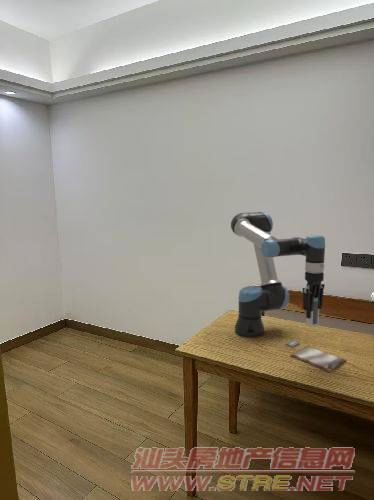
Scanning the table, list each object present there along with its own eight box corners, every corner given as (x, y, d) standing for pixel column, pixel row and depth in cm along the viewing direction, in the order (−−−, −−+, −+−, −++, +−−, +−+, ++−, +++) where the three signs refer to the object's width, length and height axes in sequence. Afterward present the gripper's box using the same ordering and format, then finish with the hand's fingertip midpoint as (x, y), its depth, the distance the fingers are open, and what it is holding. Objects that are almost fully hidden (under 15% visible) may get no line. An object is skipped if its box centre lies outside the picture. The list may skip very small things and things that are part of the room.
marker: (305, 324, 147) (306, 297, 145) (310, 322, 149) (311, 295, 147) (313, 326, 144) (314, 299, 142) (318, 324, 146) (319, 297, 144)
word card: (285, 344, 158) (285, 343, 158) (292, 340, 162) (292, 339, 162) (292, 347, 155) (292, 346, 155) (299, 343, 159) (300, 342, 159)
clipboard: (290, 356, 147) (290, 352, 147) (307, 346, 156) (307, 343, 155) (329, 372, 133) (330, 368, 133) (346, 361, 142) (346, 357, 142)
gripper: (311, 276, 135) (308, 331, 138) (333, 270, 145) (330, 321, 148) (295, 273, 141) (293, 325, 144) (317, 267, 151) (315, 317, 154)
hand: (312, 323), depth 146 cm, fingers closed on marker, 4 cm apart
